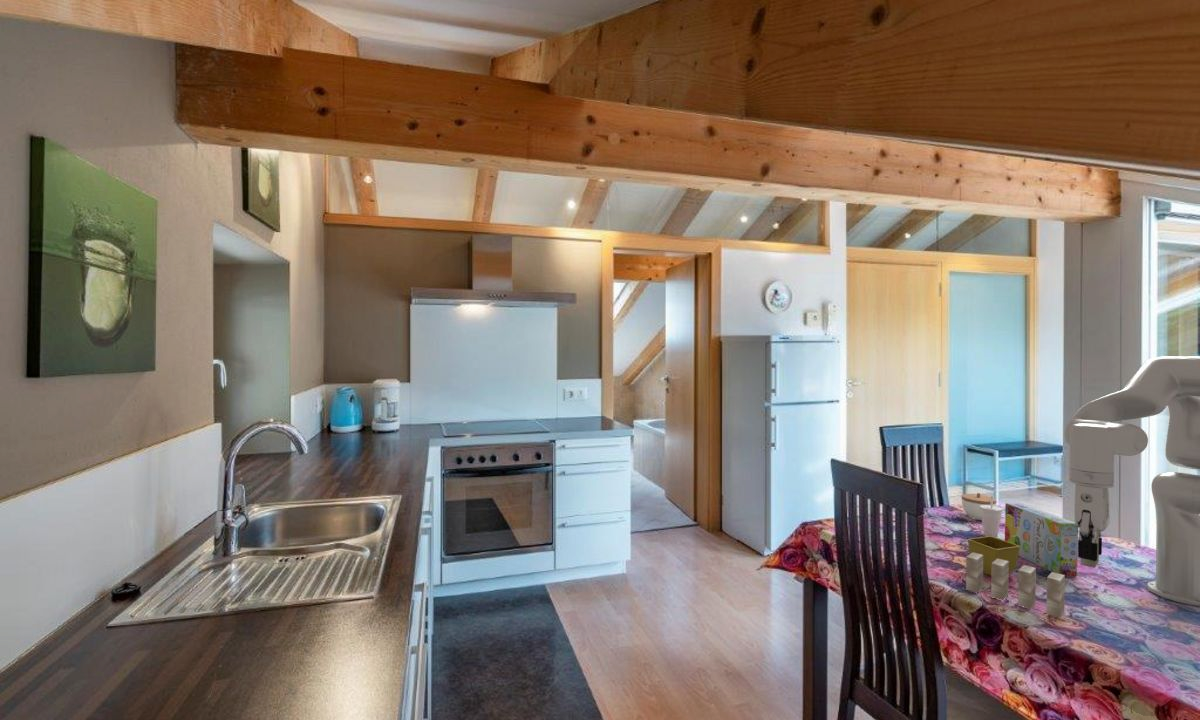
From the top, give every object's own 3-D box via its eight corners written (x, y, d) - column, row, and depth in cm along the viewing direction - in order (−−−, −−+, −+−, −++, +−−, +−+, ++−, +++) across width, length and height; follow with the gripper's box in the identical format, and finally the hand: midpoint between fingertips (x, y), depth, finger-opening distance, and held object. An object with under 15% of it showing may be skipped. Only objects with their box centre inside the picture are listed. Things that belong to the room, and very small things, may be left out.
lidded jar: (1001, 519, 198) (1001, 494, 198) (987, 524, 193) (987, 498, 193) (970, 512, 208) (970, 488, 207) (955, 516, 202) (955, 491, 202)
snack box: (1079, 577, 147) (1080, 523, 147) (1059, 576, 148) (1059, 523, 147) (1020, 548, 169) (1021, 501, 168) (1002, 548, 169) (1003, 501, 169)
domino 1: (982, 588, 140) (983, 554, 140) (976, 594, 137) (977, 559, 137) (972, 585, 142) (972, 552, 142) (966, 590, 139) (966, 556, 139)
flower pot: (996, 581, 144) (996, 549, 144) (966, 569, 153) (966, 538, 152) (1020, 578, 147) (1020, 546, 146) (989, 566, 155) (990, 535, 155)
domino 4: (1064, 612, 127) (1064, 575, 127) (1059, 618, 124) (1060, 580, 124) (1051, 608, 129) (1051, 572, 129) (1046, 614, 126) (1047, 577, 126)
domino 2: (1008, 595, 136) (1008, 561, 136) (1002, 601, 133) (1003, 566, 133) (997, 592, 138) (997, 558, 138) (991, 598, 135) (991, 563, 134)
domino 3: (1035, 603, 132) (1035, 568, 131) (1030, 609, 128) (1030, 573, 128) (1023, 600, 133) (1023, 565, 133) (1018, 606, 130) (1018, 570, 130)
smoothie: (983, 537, 178) (983, 496, 178) (976, 531, 185) (976, 491, 184) (1005, 539, 177) (1006, 498, 176) (997, 533, 183) (998, 493, 183)
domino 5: (1098, 562, 122) (1099, 523, 122) (1094, 567, 119) (1095, 528, 119) (1084, 559, 124) (1085, 521, 124) (1080, 564, 121) (1081, 525, 121)
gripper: (1107, 486, 113) (1105, 570, 113) (1119, 475, 124) (1118, 552, 124) (1061, 480, 119) (1060, 560, 119) (1076, 469, 130) (1075, 543, 130)
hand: (1089, 555), depth 122 cm, fingers closed on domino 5, 4 cm apart
